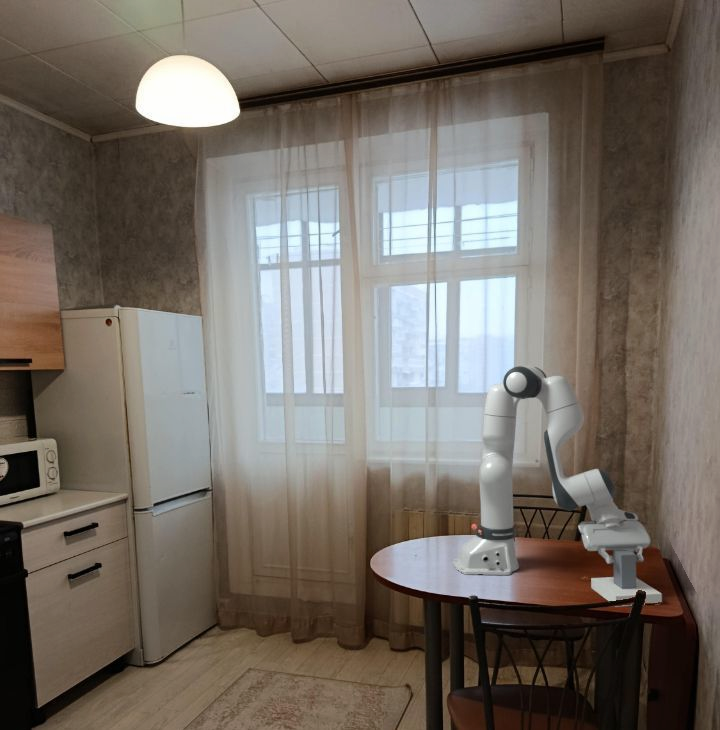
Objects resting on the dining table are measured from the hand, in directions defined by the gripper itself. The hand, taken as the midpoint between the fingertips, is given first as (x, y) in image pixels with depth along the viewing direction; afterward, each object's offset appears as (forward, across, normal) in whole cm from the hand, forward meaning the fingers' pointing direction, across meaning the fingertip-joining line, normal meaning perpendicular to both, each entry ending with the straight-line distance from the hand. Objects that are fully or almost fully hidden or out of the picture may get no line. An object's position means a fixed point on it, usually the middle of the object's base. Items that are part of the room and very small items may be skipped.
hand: (625, 561), depth 167 cm
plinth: (+7, 0, +8) cm, 10 cm away
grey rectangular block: (+5, 0, +6) cm, 7 cm away
